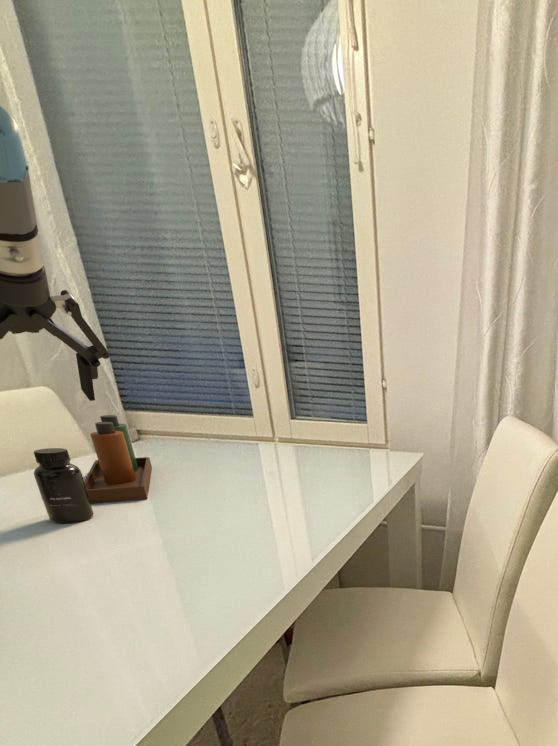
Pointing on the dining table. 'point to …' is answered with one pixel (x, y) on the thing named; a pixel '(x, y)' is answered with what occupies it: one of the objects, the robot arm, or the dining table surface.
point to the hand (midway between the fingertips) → (38, 400)
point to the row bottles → (114, 450)
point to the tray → (118, 492)
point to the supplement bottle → (61, 486)
